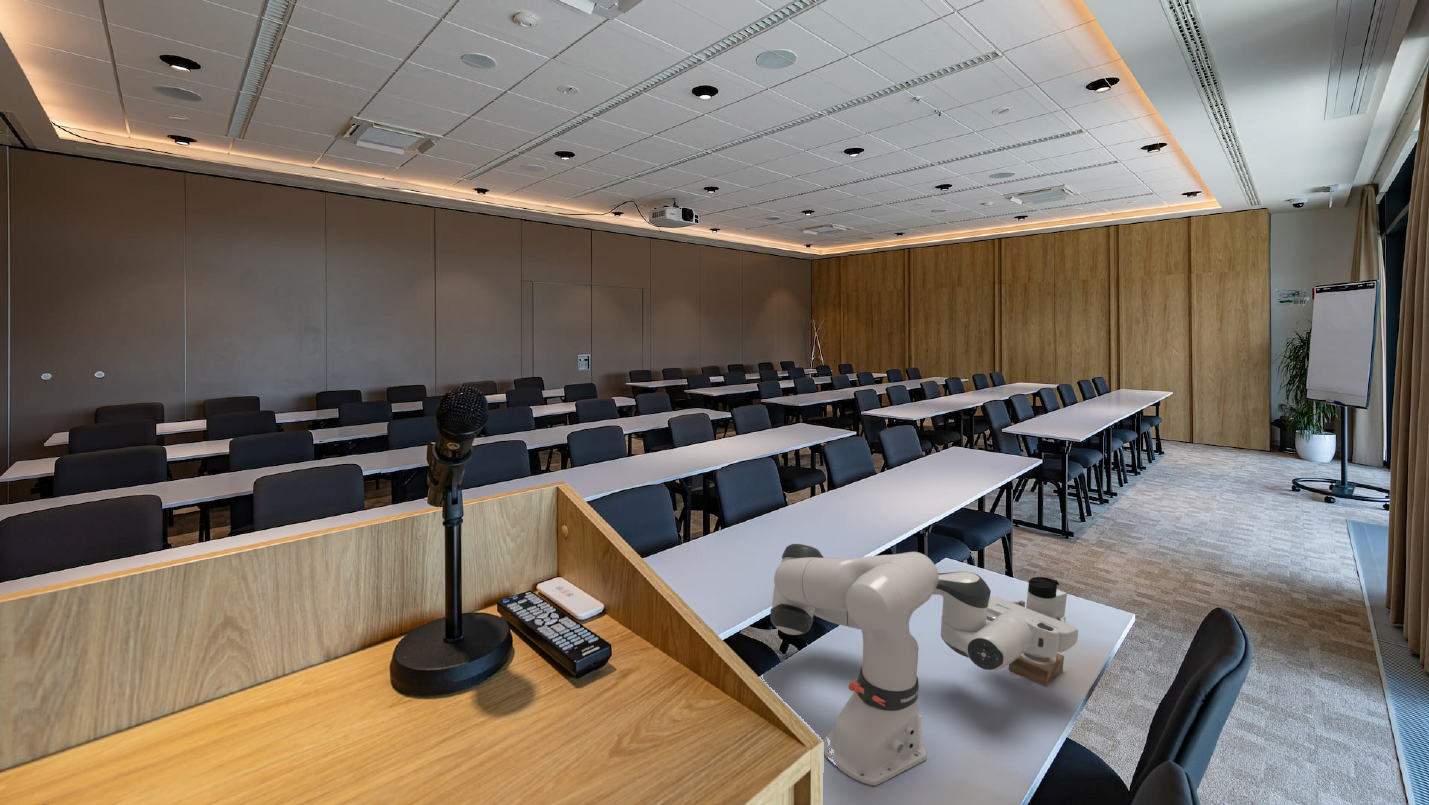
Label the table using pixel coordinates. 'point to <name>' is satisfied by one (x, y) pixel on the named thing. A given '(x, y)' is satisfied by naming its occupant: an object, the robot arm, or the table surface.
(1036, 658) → the travel mug
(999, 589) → the table surface
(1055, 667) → the plinth
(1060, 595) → the small box
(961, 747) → the table surface
